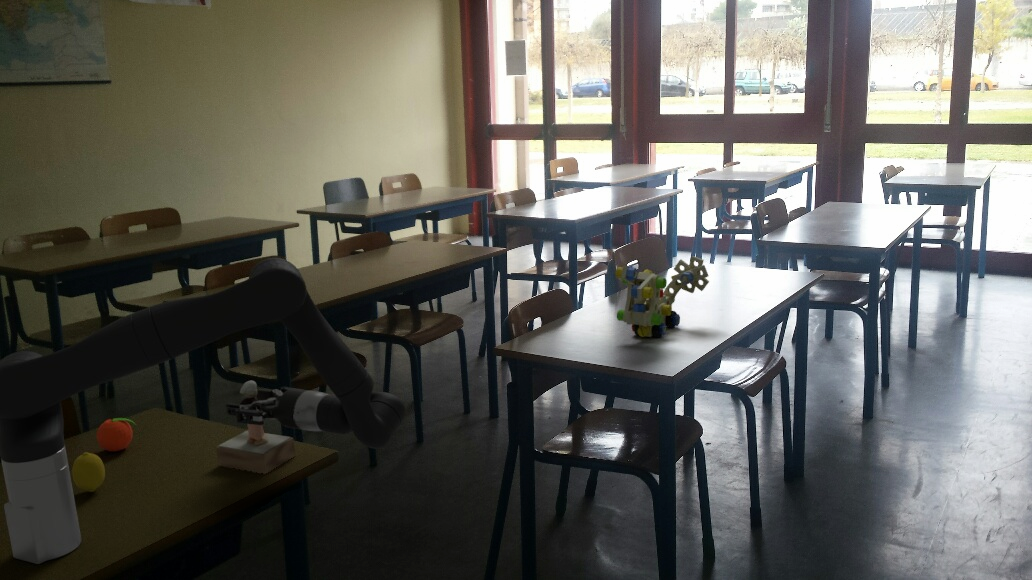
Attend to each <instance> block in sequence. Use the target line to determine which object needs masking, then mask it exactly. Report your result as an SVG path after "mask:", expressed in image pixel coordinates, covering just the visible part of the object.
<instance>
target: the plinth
mask: <svg viewBox="0 0 1032 580" xmlns="http://www.w3.org/2000/svg"><path fill="white" fill-rule="evenodd" d="M263 438H266V439H267V440H268V442H267V443H265V444H261V445H254V442H253V443H247V440H248V439H249V434H248V429H247V430H244V431H243V432H242V433H240V434H238V435H236V436H234V437H232V438H230V439H228V440H227V441H224V442H223V443H220V444H219V445H217V446H216V447H215V448H216V456H217V462H218V463H217V464H218V467H222V466H223V468H228V469H233V468H235V470H239V469H240V471H244V470H247V471H246V472H250V471H252V472H251V473H256V472H257V473H256V474H261V473H263V475H267V474H268V472H269V471H270V472H272V471H274V470H275V469H277V468H279V467H280V466H282V465H284V464H285V463H287V462H288V460H289V459H290V460H292V459H293V457H294V456H295V457H296V449H295V440H294V437H291V436H287V435H279V434H273V433H268V432H266V433H265V432H264V436H263ZM295 457H294V458H295ZM291 458H292V459H291ZM290 460H289V461H290ZM286 461H287V462H286ZM284 462H285V463H284ZM283 463H284V464H283ZM281 464H282V465H281ZM279 465H280V466H279ZM278 466H279V467H278ZM276 467H277V468H276ZM274 468H275V469H274ZM273 469H274V470H273ZM271 470H272V471H271ZM270 472H269V473H270ZM266 473H267V474H266Z"/></svg>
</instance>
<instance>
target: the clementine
mask: <svg viewBox="0 0 1032 580" xmlns="http://www.w3.org/2000/svg"><path fill="white" fill-rule="evenodd" d="M129 422H131V423H133V424H134V425H135V426H137V424H136V423H135V422H134V421H133V420H131V419H129V418H128V419H127V418H125V417H124V418H123V417H115V418H114V417H113V418H109V419H106V420H104V422H102V423H101V424H100V426H99V427H98V429H97V431H96V440H97V443H98V445H99V446H100V447H101V448H102V449H104V450H105V451H108V452H119V451H121V450H124V449H125V448H127V447H128V446H129V445H130V444H131V442H132V439H133V433H134V432H133V428H132V426H131V425H130V423H129Z"/></svg>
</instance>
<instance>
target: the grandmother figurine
mask: <svg viewBox="0 0 1032 580" xmlns="http://www.w3.org/2000/svg"><path fill="white" fill-rule="evenodd" d="M257 387H258V385H257V382H256V381H254V380H248V381H246V382H244V383H243V385H242V386H241V388H240V390H239V394H241V395H244V397H245V398H244V399H242V400H241V402H240V403H239V404H241V405H248V404H252V403H253V402H254V401H259V400H257V397H256V395H257V390H258V389H257ZM249 410H253V409H249ZM257 410H259V411H261V408H260V405H258V406H257ZM247 430H248V434H249V439H248V440H247V443H253V442H254V445H261V444H265V443H267V442H268V440H267V439H266V438H263V436H264V433H265V432H264V428H263V425H254V424H247Z"/></svg>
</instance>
